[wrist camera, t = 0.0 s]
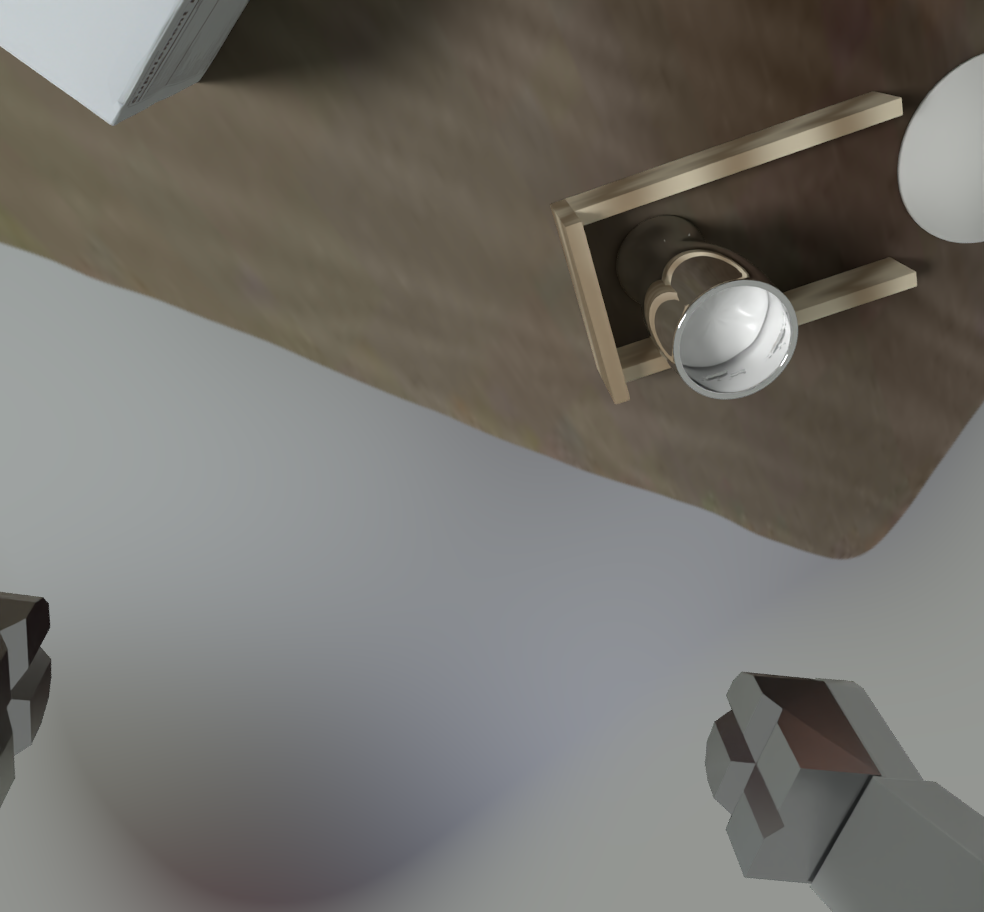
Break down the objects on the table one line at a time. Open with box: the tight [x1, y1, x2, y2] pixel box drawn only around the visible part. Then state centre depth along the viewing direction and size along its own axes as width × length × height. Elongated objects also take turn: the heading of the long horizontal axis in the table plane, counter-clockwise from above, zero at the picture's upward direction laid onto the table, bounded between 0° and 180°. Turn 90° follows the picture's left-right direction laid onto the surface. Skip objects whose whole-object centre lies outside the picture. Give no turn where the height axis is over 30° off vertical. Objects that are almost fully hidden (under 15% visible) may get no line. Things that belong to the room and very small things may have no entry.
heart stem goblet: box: [616, 215, 798, 399], centre depth 51 cm, size 7×7×15 cm
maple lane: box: [550, 91, 917, 405], centre depth 55 cm, size 21×12×6 cm, turn 108°
